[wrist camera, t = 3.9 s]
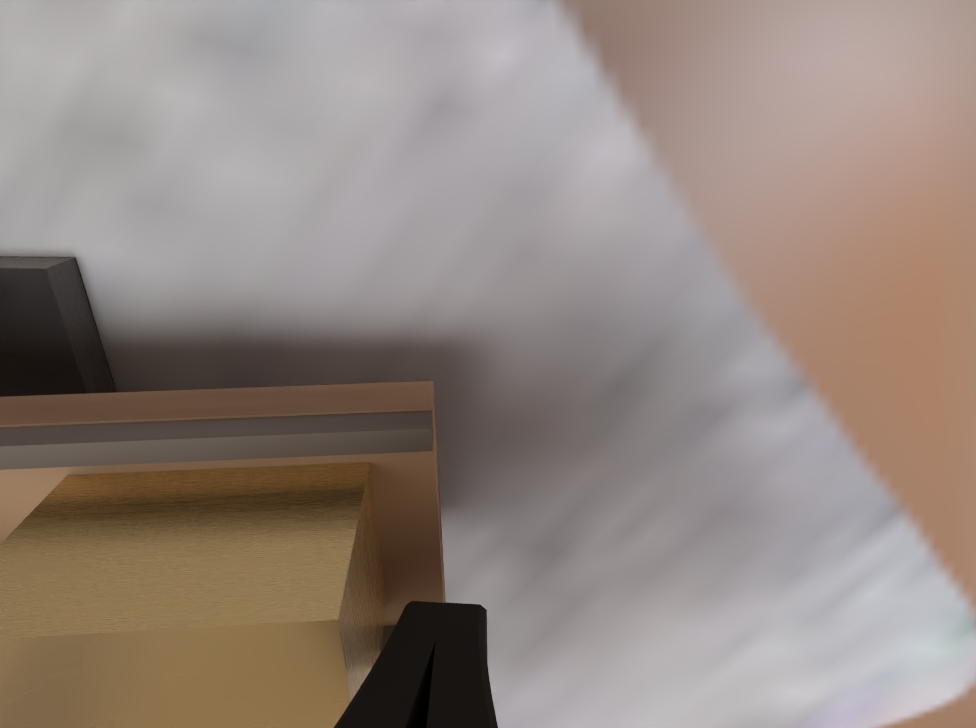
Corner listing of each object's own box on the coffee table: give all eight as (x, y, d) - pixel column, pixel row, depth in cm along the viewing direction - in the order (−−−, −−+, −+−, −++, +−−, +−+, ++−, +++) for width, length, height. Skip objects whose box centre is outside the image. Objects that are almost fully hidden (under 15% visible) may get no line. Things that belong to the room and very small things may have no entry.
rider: (386, 605, 14) (364, 787, 10) (121, 620, 14) (4, 812, 10) (370, 461, 12) (338, 619, 9) (66, 475, 12) (-97, 644, 8)
